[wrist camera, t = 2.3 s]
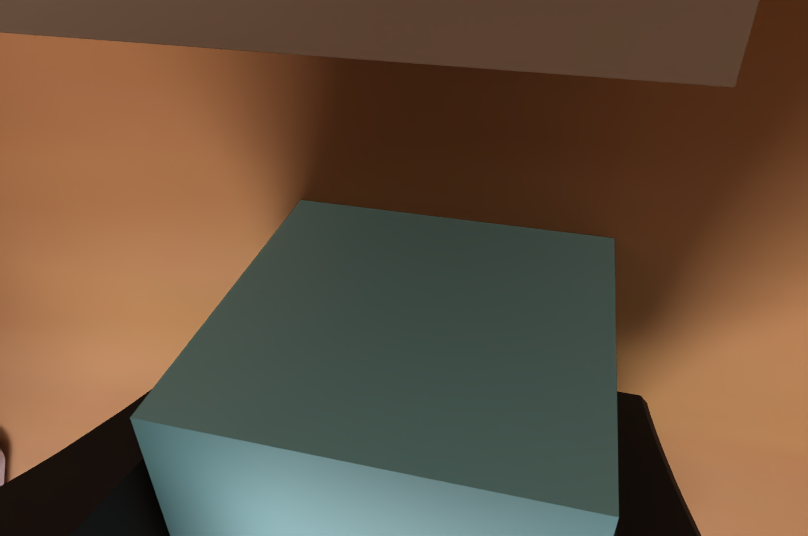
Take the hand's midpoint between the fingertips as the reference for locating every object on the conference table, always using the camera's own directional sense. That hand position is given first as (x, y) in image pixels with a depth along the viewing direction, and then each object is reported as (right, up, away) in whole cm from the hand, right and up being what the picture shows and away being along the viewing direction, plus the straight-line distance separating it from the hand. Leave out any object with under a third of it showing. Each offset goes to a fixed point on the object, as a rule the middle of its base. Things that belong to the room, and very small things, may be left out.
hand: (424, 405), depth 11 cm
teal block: (0, +1, +1) cm, 2 cm away
